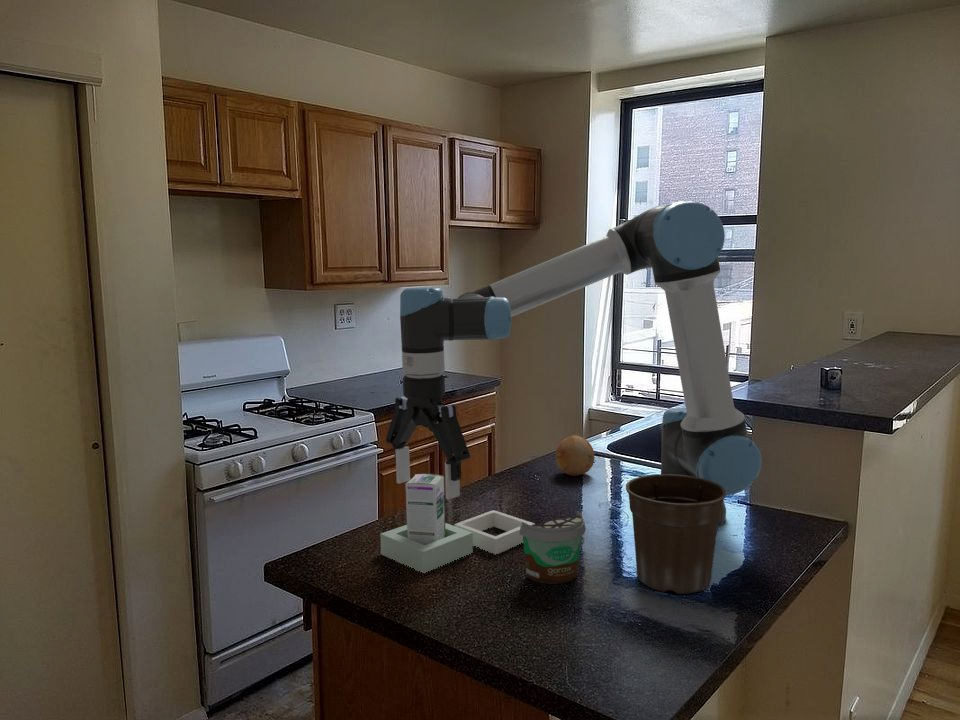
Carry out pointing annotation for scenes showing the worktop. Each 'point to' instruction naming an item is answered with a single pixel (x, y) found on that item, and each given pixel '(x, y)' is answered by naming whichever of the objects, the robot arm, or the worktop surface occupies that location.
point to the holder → (499, 521)
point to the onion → (575, 455)
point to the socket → (426, 548)
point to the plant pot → (675, 530)
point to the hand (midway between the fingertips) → (427, 489)
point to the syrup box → (425, 508)
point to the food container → (553, 549)
